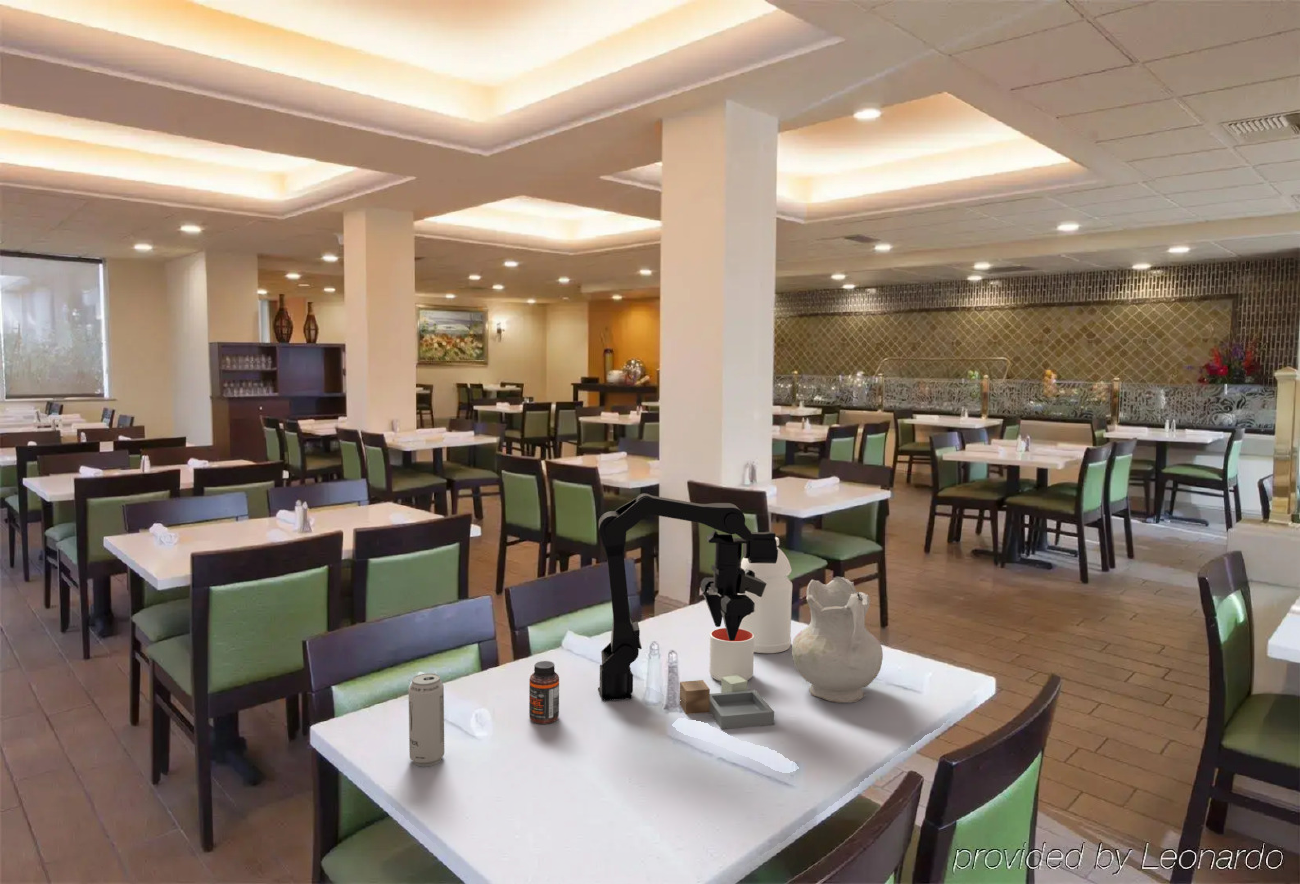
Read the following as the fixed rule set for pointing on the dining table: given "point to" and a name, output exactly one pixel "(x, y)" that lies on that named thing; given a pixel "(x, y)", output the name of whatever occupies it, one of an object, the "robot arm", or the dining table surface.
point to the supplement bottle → (544, 693)
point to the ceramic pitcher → (837, 643)
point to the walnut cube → (694, 697)
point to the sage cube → (733, 684)
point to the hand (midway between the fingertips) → (724, 633)
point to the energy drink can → (426, 719)
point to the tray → (740, 709)
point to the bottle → (770, 605)
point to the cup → (731, 654)
